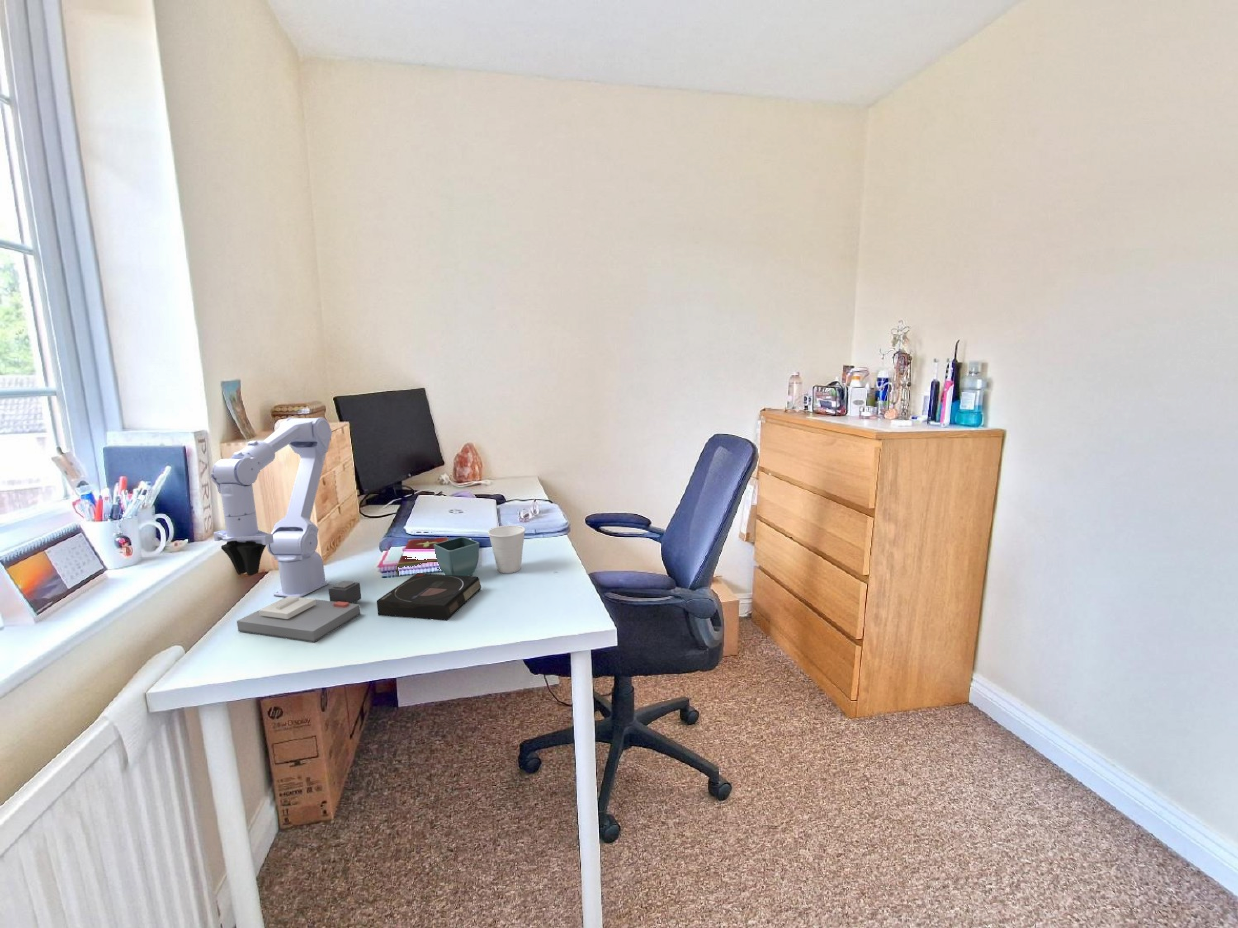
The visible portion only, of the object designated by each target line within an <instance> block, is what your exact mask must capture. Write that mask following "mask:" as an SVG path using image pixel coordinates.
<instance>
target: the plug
mask: <svg viewBox="0 0 1238 928" xmlns="http://www.w3.org/2000/svg"><path fill="white" fill-rule="evenodd" d="M328 595H329V601H334V602H338V601H340V602H348V603H351V604H356V602H358V601H360V600H361V599H362V593H361V583H360V582H358V581H357V582H356V581H348V580H342V581H340V582H339V583H336V584H335V585H333V586H330V587H329V588H328Z"/></svg>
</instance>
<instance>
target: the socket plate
mask: <svg viewBox="0 0 1238 928" xmlns="http://www.w3.org/2000/svg"><path fill="white" fill-rule="evenodd" d="M284 598H285V597H284ZM284 598H282V599H284ZM282 599H279V600H278V601H280V600H282ZM314 599H315V600H316V605H314V606H312V607H310V608H308V609H306V610H304V611H302V612H301V613H299V614H297V615H295V616H293V617H291V618H289V619H282V618H275V617H267V616H260V612H259V610H260V609H259V610H257V611H254V612H253V613H250V614H248V615H246V616H244V617H242V618H240V619H238V620H236V625H237V631H240V632H239V633H246V634H253V635H259V634H260V636H266V637H274V638H281V639H286V638H287V639H288V640H295V641H302V642H308V643H316V642H317V641H319V640H321V639H323V638H324V637H326V636H328V635H329V634H330V633H332V632H334V631H336V630H338V629H339V628H341V627H343V626H344V625H346V624H348V623H349V622H351V621H352V620H354V619H355V618H357V617H359V616H361V614H362V613H361V606H360V604H359V603H353V604H351V603H348V602H340V601H338V602H334V601H330V600H323V599H316V598H314ZM278 601H276V602H278Z"/></svg>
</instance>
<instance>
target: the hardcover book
mask: <svg viewBox="0 0 1238 928" xmlns="http://www.w3.org/2000/svg"><path fill="white" fill-rule="evenodd" d="M421 539H422V540H421ZM447 540H450V537H449V538H436V539H424V538H412V539H408V541H407V543H406V545H405V547H404V549H434V544H436V543H440V542H444V541H447ZM405 558H406V559H405ZM407 558H412V557H407V556H402V555H401V556H400V558H399V560H398V562H397V564H396V574H397V577H400V576H399V571H398V567H399V568H402V567H404V566H405V567H407V566H409V567H410V566H411V567H412V566H414V565H415V566H417V565H418V564H419V565H421V564H422V563H427V562H437V559H427V560H426V559H424V560H418V559H417V560H416V559H407ZM415 558H416V557H415ZM420 563H421V564H420ZM437 569H439V568H437ZM440 569H441V568H440ZM440 569H439V570H440Z"/></svg>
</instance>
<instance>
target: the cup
mask: <svg viewBox="0 0 1238 928" xmlns="http://www.w3.org/2000/svg"><path fill="white" fill-rule="evenodd" d="M526 530H527V529H526V527H525V526H522V525H517V524H516V525H515V524H510V525H509V524H508V525H507V524H506V525H499V526H495V527H493V528H490V529H489V530H487V534H488V537H489V541H490V545H491V549H492V552H493V556H494V560H495V565H496V569H497V571H498V572H499V573H501V574H513V572H514V573H516V572H518V571H520V569H521V568H522V559H523V558H522V557H523V548H524V542H525V541H524V540H525V532H526Z"/></svg>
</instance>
